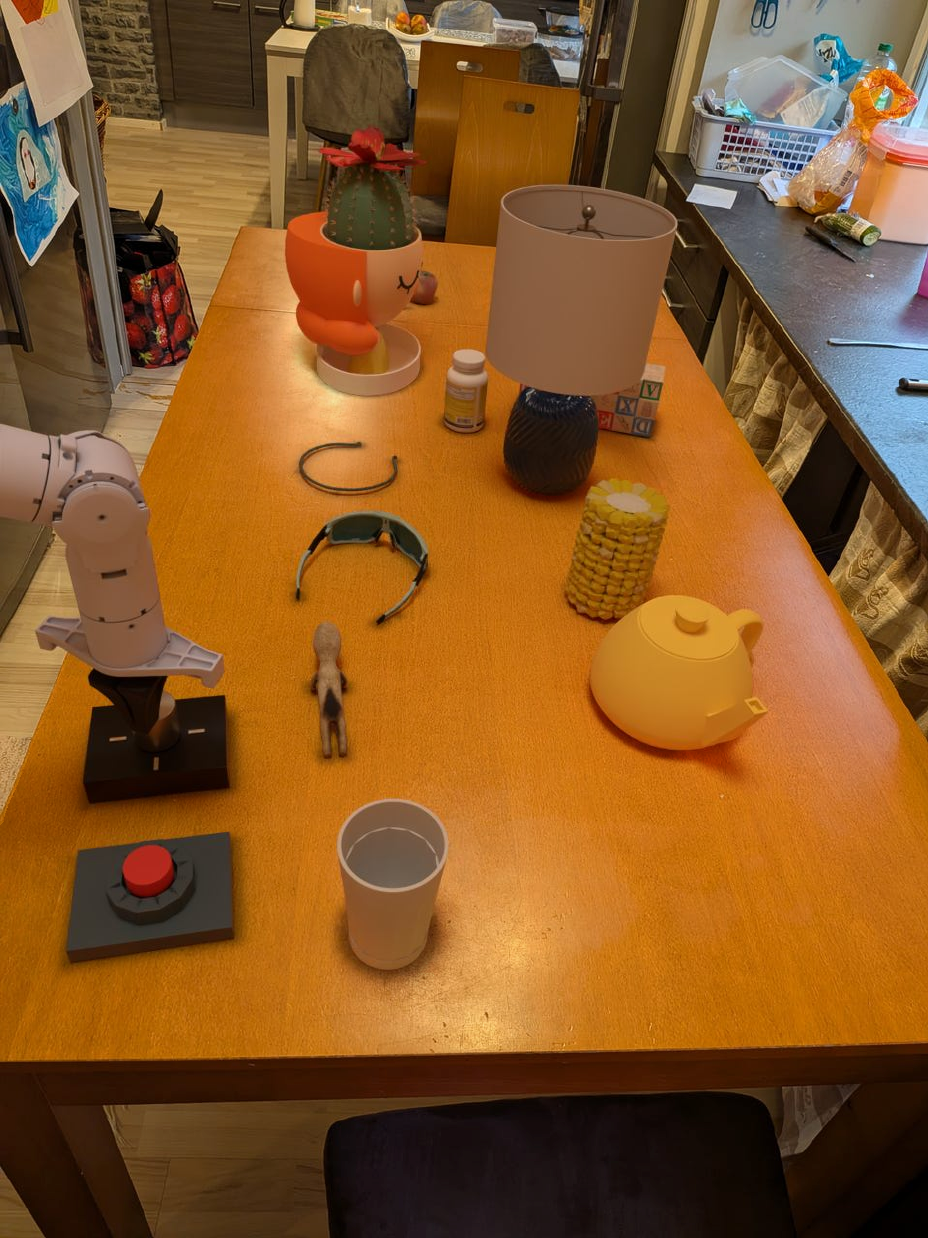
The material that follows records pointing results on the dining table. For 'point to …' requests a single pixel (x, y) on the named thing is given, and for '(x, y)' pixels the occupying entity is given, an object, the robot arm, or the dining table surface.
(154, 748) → the dimmer knob
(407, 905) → the cup
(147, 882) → the switch button
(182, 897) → the switch block
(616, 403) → the stack of blocks
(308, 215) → the potted cactus
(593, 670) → the teapot
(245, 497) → the dining table surface
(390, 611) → the sunglasses
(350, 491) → the black headband
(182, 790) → the dimmer panel
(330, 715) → the figurine
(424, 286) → the apple
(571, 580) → the food
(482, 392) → the pill bottle
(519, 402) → the lamp
